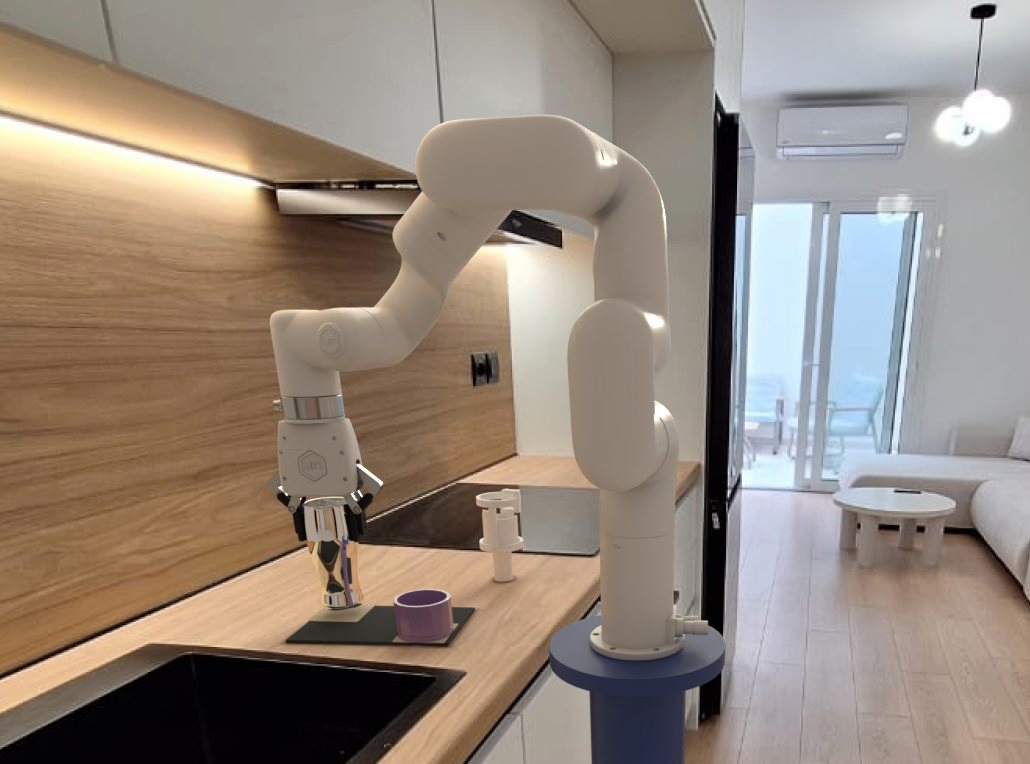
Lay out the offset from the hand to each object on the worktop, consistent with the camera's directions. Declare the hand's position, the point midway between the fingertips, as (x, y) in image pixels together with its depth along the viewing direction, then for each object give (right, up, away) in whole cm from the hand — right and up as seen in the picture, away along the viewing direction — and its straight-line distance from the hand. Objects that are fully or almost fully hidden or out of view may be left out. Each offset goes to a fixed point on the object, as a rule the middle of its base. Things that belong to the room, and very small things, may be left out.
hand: (332, 538), depth 114 cm
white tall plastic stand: (+20, -5, +20) cm, 29 cm away
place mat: (+7, -12, 0) cm, 14 cm away
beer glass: (0, -9, +4) cm, 10 cm away
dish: (+14, -13, -3) cm, 20 cm away
